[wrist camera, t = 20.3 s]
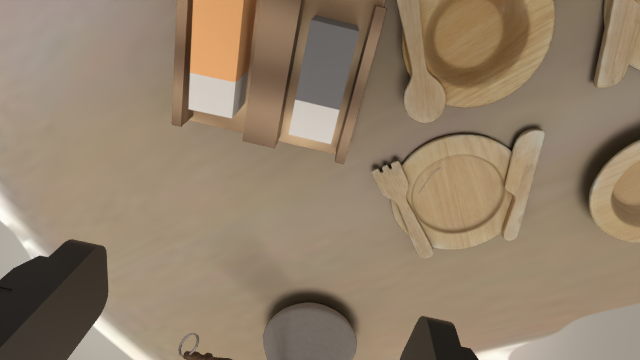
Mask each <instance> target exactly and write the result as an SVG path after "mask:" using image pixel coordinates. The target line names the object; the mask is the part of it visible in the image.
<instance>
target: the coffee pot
mask: <svg viewBox="0 0 640 360" xmlns="http://www.w3.org/2000/svg"><path fill="white" fill-rule="evenodd" d="M190 335H195V336H196V339H197V341H196V345H195V347H194V349H193V350H192V351H190V352H188V351H186V352H185V353H184V356H183V355H182V354H181V347H182V344H183V342H184V341H185V339H186V338H188V337H189V336H190ZM198 343H199V337H198V335H197V334H195V333H190V334H188V335H187V336H186V337H184V338H183V340H182V341H181V343H180V346H179V349H178V351H179V355H180V356H182V357H183V358H184V359H186V360H232V359H229V358H217V357H213V356H212V354H211V353H206V354H205V355H201V354H200V353H199V352H194V351H195V350H196V348H197V347H198ZM263 344H264V349H265V353H266V357H267V360H352V359H353V357H354V355H355V353H356V347H357V340H356V336H355V333H354V330H353V329H352V327H351V325H350V324H349V322H348V321H347V319H346V318H345V317H343V316H342V315H341V314H340V313H339V312H337V311H335V310H333V309H331V308H329V307H327V306H325V305H323V304H319V303H312V302H306V303H299V304H295V305H292V306H289V307H287V308H284V309H282V310H281V311H280V312H278V313H277V314H275V315H274V317H273V318H272V319H271V320H270V321H269V323H268V324H267V325H266V328H265V331H264V334H263Z"/></svg>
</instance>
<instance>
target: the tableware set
mask: <svg viewBox="0 0 640 360" xmlns="http://www.w3.org/2000/svg"><path fill="white" fill-rule="evenodd" d="M396 2H397V6H398V11H399V15H400V19H401V24H402V28H403V33H402V52H403V58H404V62H405V65H406V68H407V71H408V73H409V75H410V77H411V78H410V80H409V83H408V85H407V86H406V88H405V91H404V96H403V102H404V106H405V109H406V111H407V113H408V114H409V116H410V117H411V118H412V119H414V120H415V121H417V122H420V123H429V122H432V121H434V120H436V119H437V118H438V117H439V116H440V115H441V114H442V112H443V110H444V108H445V105H448V106H452V107H460V108H469V107H478V106H482V105H486V104H490V103H493V102H496V101H498V100H500V99H502V98H504V97H506V96H508V95H509V94H511V93H512V92H514V91H515V90H517V89H518V88H519V87H520V86H522V85H523V84H524V83H525V82H526V81H527V80H528V79H529V78H530V77H531V76H532V75H533V73H534V72H535V71H536V69H537V68H538V67H539V65H540V64H541V62H542V61H543V59H544V57H545V56H546V53H547V51H548V48H549V46H550V43H551V40H552V36H553V32H554V27H555V10H554V2H553V0H396ZM604 25H605V29H604V34H603V39H602V44H601V49H600V53H599V58H598V63H597V68H596V73H595V78H594V86H595V87H597V88H607V87H610V86H613V85H615V84H617V83H619V82H620V81H621V79H622V78H623V76H624V75H625V73H626V71H627V69H628V66H629V65H630V66H632V67H634V68H635V69H638V70H640V0H605V2H604ZM544 136H545V131H543V130H541V129H529V130H526V131H524V132H523V133H522V134H520V135H519V137H518V138H517V139H516V142H515V144H514V146H513V149H512V152H511V151H510V150H509V149H508V148H507V147H505V146H504V145H502V144H501V143H499V142H497V141H495V140H493V139H491V138H488V137H485V136H481V135H474V134H455V135H448V136H444V137H441V138H438V139H435V140H433V141H430V142H429V143H427V144H425V145H423V146H421V147H420V148H419V149H417V150H416V151H414V152H413V153H412V154H411V155H410V156H409V157H408V158H407V159H406V160H405V161H404V163H403V164H402V165H401V164H400V162H399V161H398V160H397V161H395V162H392V163H391V167H392V168H389V167H388V165H384V166H382V170H383V171H382V172H380V171H379V169H378V168H377V169H374V170H372V172H371V173H372V175H373V177H374V179H375V181H376V184H377V186H378V188H379V189H380V191H381V193H382V195H384V196H385V197H387V198H390V199H391V206H392V210H393V214H394V217H395V219H396V221H397V222H398V224H399V225H400V227H401V228H402V229H403V230H404V231H405V232H406V233H407V234H408V235H409V236H410V237H411V240H412V242H413V245H414V247H415V249H416V251H417V254H418V255H419V257H421V258H428V257H430V256H432V255H433V248H438V249H463V248H469V247H472V246H476V245H478V244H481V243H483V242H486V241H488V240H490V239H492V238H493V237H495V236H497V235H498V234H500V233H501V234H502V236H503V238H504V239H505V240H507V241H511V240H514V239H515V238H516V237H517V235H518V233H519V229H520V226H521V222H522V218H523V215H524V211H525V207H526V204H527V200H528V196H529V193H530V189H531V185H532V182H533V178H534V174H535V170H536V166H537V162H538V159H539V155H540V151H541V147H542V143H543V140H544ZM442 167H443V168H442ZM437 168H441V169H439V170H437V171H435V173H434V174H433V175H432V177H431V178H430V179H429V181H428V182H427V184H426V185H425V186H424V188H423V189H422V190H421V192H420V189H421V188H422V186H423V185H424V183H425V182H426V180H427V179H428V177H429V176H430V174H431V172H432V171H433V170H434V169H437ZM589 211H590V214H591V216H592V218H593V220H594V222H595V223H596V225H597V226H598V227H599V228H600V229H601V230H602V231H603V232H605V233H606V234H608V235H610V236H612V237H614V238H617V239H619V240H624V241H628V242H640V140H638V141H636V142H634V143H632V144H630V145H628V146H627V147H625V148H624V149H622V150H621V151H619V152H618V153H617V154H615V155H614V156H613V157H612V158H611V159H610V160H609V161H608V162H607V163H606V164H605V165H604V166H603V168H602V169H601V170H600V172H599V173H598V175H597V176H596V178H595V179H594V182H593V184H592V186H591V189H590V193H589ZM432 247H433V248H432Z"/></svg>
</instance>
